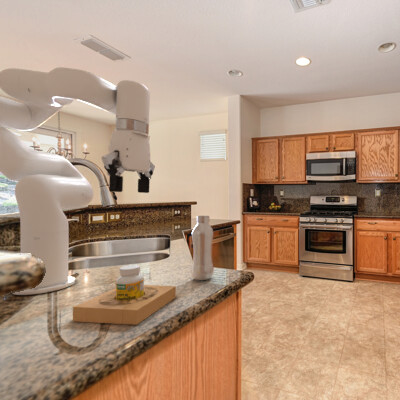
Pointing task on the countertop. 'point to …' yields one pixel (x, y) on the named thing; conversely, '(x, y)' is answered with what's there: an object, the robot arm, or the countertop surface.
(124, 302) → the socket pad
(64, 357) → the countertop surface
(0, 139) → the robot arm
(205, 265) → the plastic bottle
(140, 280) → the supplement bottle
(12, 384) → the countertop surface
